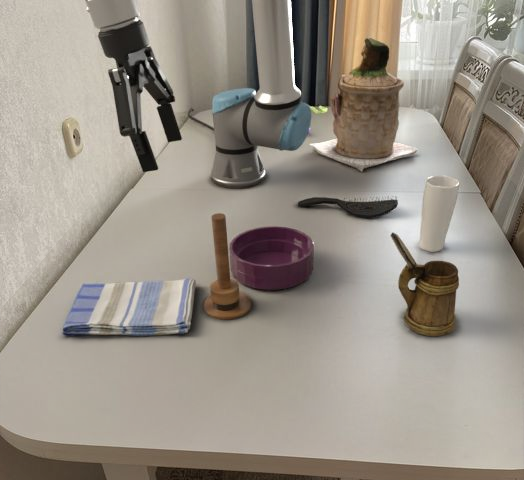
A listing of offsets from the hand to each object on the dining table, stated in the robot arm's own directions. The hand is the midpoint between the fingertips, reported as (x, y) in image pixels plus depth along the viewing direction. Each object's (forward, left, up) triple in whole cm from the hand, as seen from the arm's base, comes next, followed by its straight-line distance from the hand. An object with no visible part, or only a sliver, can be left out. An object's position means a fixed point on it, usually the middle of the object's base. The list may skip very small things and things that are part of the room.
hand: (163, 155), depth 100 cm
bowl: (+9, +17, -25) cm, 32 cm away
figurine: (-73, +73, -25) cm, 106 cm away
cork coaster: (+16, +3, -25) cm, 30 cm away
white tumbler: (+19, +52, -25) cm, 61 cm away
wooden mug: (+39, +30, -25) cm, 55 cm away
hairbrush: (-7, +48, -25) cm, 55 cm away
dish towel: (+8, -13, -25) cm, 30 cm away
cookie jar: (-38, +77, -25) cm, 89 cm away
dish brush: (+16, +3, -24) cm, 29 cm away
